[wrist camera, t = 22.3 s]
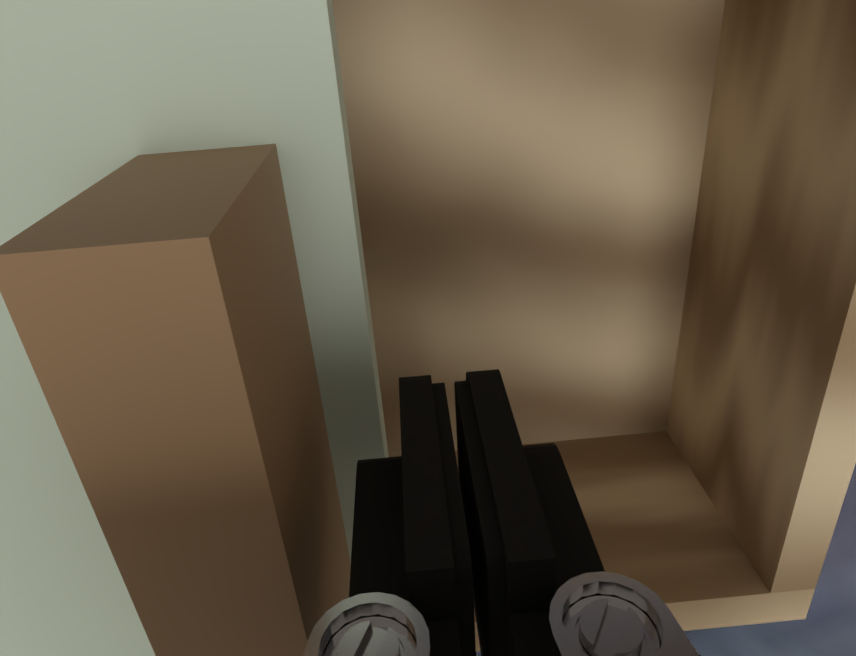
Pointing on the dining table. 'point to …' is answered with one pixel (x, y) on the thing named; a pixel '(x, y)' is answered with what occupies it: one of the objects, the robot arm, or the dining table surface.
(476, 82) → the toolbox
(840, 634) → the dining table surface
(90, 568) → the lid
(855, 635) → the dining table surface
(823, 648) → the dining table surface
